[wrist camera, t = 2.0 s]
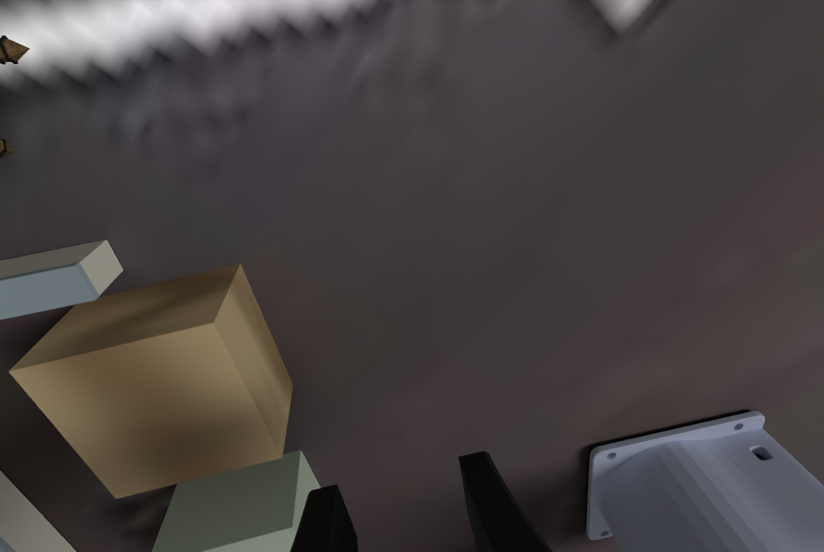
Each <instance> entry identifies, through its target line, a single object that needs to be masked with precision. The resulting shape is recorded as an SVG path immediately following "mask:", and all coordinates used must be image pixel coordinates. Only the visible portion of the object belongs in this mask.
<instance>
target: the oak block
mask: <svg viewBox="0 0 824 552" xmlns="http://www.w3.org/2000/svg"><path fill="white" fill-rule="evenodd" d="M9 373H10V374H11V375H12V376H13V377H14V378H15V380H16V381H17V382H18V383H19V384H20V386H21V387H22V388H23V389H24V390H25V392H26V393H27V394H28V395H29V396H30V397H31V399H32V400H33V401H34V402H35V403H36V405H37V406H38V407H39V408H40V409H41V411H42V412H43V413H44V414H45V415H46V417H47V418H48V419H49V420H50V421H51V422H52V424H53V425H54V426H55V427H56V428H57V430H58V431H59V432H60V433H61V434H62V436H63V437H64V438H65V439H66V440H67V441H68V443H69V444H70V445H71V446H72V447H73V449H74V450H75V451H76V452H77V453H78V455H79V456H80V457H81V458H82V459H83V460H84V462H85V463H86V464H87V465H88V466H89V468H90V469H91V470H92V471H93V472H94V474H95V475H96V476H97V477H98V478H99V479H100V481H101V482H102V483H103V484H104V485H105V487H106V488H107V489H108V490H109V491H110V493H111V494H112V495H113V496H114V497H115V498H116V499H117V498H121V497H125V496H129V495H133V494H138V493H142V492H146V491H150V490H154V489H158V488H162V487H166V486H170V485H174V484H178V483H182V482H186V481H190V480H195V479H199V478H203V477H207V476H211V475H215V474H219V473H223V472H227V471H231V470H235V469H239V468H243V467H247V466H252V465H256V464H260V463H264V462H268V461H272V460H276V459H280V458H282V457H283V450H284V443H285V436H286V429H287V423H288V416H289V409H290V402H291V396H292V389H293V383H292V381H291V379H290V377H289V374H288V372H287V370H286V368H285V365H284V363H283V361H282V358H281V356H280V354H279V352H278V349H277V347H276V345H275V342H274V340H273V338H272V336H271V333H270V331H269V329H268V326H267V324H266V322H265V320H264V317H263V315H262V313H261V310H260V308H259V306H258V304H257V301H256V299H255V297H254V294H253V292H252V290H251V288H250V285H249V283H248V281H247V278H246V276H245V274H244V272H243V269H242V267H241V265H240V264H239V265H235V266H231V267H227V268H222V269H218V270H214V271H210V272H205V273H201V274H197V275H193V276H188V277H184V278H180V279H176V280H171V281H167V282H163V283H159V284H155V285H150V286H146V287H142V288H138V289H133V290H129V291H125V292H121V293H116V294H112V295H108V296H104V297H99V298H97V299H96V300H94V301H89V302H84V303H79V304H76V305H75V306H74V307H73V308H72V309H71V310H70V311H69V312H68V313H67V314H66V315H65V316H64V317H63V318H62V319H61V320H60V321H59V322H58V323H57V324H56V325H55V326H54V327H53V328H52V329H51V330H50V331H49V332H48V333H47V334H46V335H45V336H44V337H43V338H42V339H41V340H40V341H39V342H38V343H37V344H36V345H35V346H34V347H33V348H32V349H31V350H30V351H29V352H28V353H27V354H26V355H25V356H24V357H23V358H22V359H21V360H20V361H19V362H18V363H17V364H16V365H15V366H14V367H13V368H12V369H11V370H10V371H9Z"/></svg>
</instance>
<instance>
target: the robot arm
mask: <svg viewBox="0 0 824 552" xmlns="http://www.w3.org/2000/svg"><path fill="white" fill-rule="evenodd" d="M764 421H765V417H764V416H763V415H762V414H761V413H760V412H758V411H752V412H747V413H743V414H738V415H734V416H730V417H725V418H721V419H716V420H712V421H708V422H703V423H699V424H695V425H690V426H686V427H681V428H677V429H673V430H668V431H664V432H659V433H655V434H651V435H646V436H642V437H637V438H633V439H629V440H624V441H620V442H616V443H611V444H607V445H602V446H598V447H596V448H594V449H593V450H592V451H591V453H590V463H589V484H588V504H587V524H586V533H587V535H588V537H589V539H591V540H598V539H602V538H606V537H610V536H614V538H615V540H616V542H617V544H618V545H619V547H620V549H621V551H622V552H824V486H823V485H822V484H821V483H820V482H819V481H818V480H817V479H816V478H815V477H813V476H812V475H811V474H810V473H809V472H808V471H807V470H806V469H805V468H804V467H803V466H802V465H801V464H800V463H799V462H797V461H796V460H795V459H794V458H793V457H792V456H791V455H790V454H789V453H788V452H787V451H786V450H785V449H784V448H783V447H782V446H780V445H779V444H778V443H777V442H776V441H775V440H774V439H773V438H772V437H771V436H770V435H769V434H768V433H767V432H766V431H765V430H763V429H762V428H763V424H764ZM459 462H460V468H461V474H462V480H463V486H464V492H465V498H466V504H467V510H468V514H469V518H470V522H471V527H472V531H473V535H474V539H475V543H476V547H477V551H478V552H552V550H551V549H550V548H549V546H548V545H547V544H546V542H545V541H544V540H543V538H542V537H541V536H540V534H539V533H538V531H537V530H536V529H535V527H534V526H533V525H532V523H531V522H530V520H529V519H528V518H527V516H526V515H525V513H524V512H523V510H522V509H521V507H520V506H519V504H518V503H517V501H516V500H515V498H514V497H513V495H512V494H511V492H510V491H509V489H508V487H507V486H506V484H505V482H504V481H503V479H502V477H501V476H500V474H499V472H498V470H497V469H496V467H495V465H494V463H493V461H492V459H491V457H490V455H489V453H487V452H485V451H483V452H478V453H474V454H469V455H465V456H460V457H459ZM290 552H358V545H357V535H356V532H355V530H354V527H353V524H352V522H351V519H350V517H349V514H348V511H347V509H346V506H345V504H344V501H343V498H342V496H341V493H340V490H339V488H338V485H332V486H328V487H323V488H319V489H314V490H311V491H310V492H309V494H308V496H307V499H306V503H305V507H304V510H303V513H302V517H301V520H300V523H299V526H298V529H297V532H296V535H295V539H294V541H293V544H292V547H291V550H290Z"/></svg>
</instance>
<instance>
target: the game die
mask: <svg viewBox="0 0 824 552" xmlns="http://www.w3.org/2000/svg"><path fill="white" fill-rule="evenodd" d="M29 49H30V48H27V47H25V46H23V45H21V44H18V43H16V42H14V41H12V40H9V39H8V38H7V37H6V36H5V35H4V36H2V37H1V38H0V63H1V64H5V62H12V63H14V64H18V60H19V59H20V58H21V57H22V56H23V55H24V54H25V53H26V52H27V51H28V50H29ZM12 152H14V151H13V150H12V149H11V148H10V147H9V146H8V145H7V143H6V141H5V139H0V156H2V155H4V154H8V153H12Z"/></svg>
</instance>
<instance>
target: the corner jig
mask: <svg viewBox="0 0 824 552" xmlns="http://www.w3.org/2000/svg"><path fill="white" fill-rule="evenodd" d="M122 271H123V268H122V267H121V265H120V263H119V261H118V259H117V258H116V256H115V254H114V252H113V250H112V248H111V247H110V245H109V243H108V241H107V240H102V241H97V242H92V243H87V244H82V245H77V246H72V247H67V248H62V249H57V250H52V251H47V252H42V253H37V254H32V255H27V256H22V257H17V258H12V259H7V260H2V261H0V320H1V319H6V318H11V317H16V316H21V315H26V314H30V313H35V312H40V311H45V310H50V309H55V308H60V307H65V306H69V305H74V304H79V303H84V302H89V301H94V300H96V299H97V298H98V297H99V295H100V294H101V293H102V292H103V291H104V290H105V289H106V288H107V287H108V286H109V285H110V284H111V283H112V282H113V280H114V279H115V278H116V277H117V276H118V275H119V274H120V273H121V272H122ZM0 552H76V551H75V550H74V548H73V547H72V546H71V545H70V544H69V543H68V542H67V541H66V540H65V539H64V538H63V537H62V536H61V535H60V534H59V533H58V531H57V530H56V529H55V528H54V527H53V526H52V525H51V524H50V523H49V522H48V521H47V520H46V519H45V518H44V517H43V515H42V514H41V513H40V512H39V511H38V510H37V509H36V508H35V507H34V506H33V505H32V504H31V503H30V502H29V501H28V499H27V498H26V497H25V496H24V495H23V494H22V493H21V492H20V491H19V490H18V489H17V488H16V487H15V486H14V485H13V484H12V482H11V481H10V480H9V479H8V478H7V477H6V476H5V475H4V474H3V473H2V472H1V471H0Z"/></svg>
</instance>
